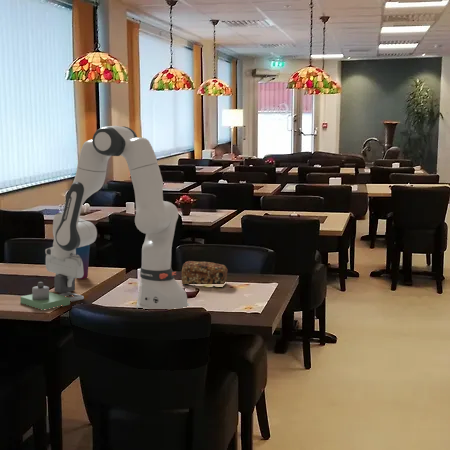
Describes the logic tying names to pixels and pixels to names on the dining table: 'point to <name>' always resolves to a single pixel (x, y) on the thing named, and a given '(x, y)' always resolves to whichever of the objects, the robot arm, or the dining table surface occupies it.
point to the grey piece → (62, 284)
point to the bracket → (75, 298)
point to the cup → (84, 258)
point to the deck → (46, 303)
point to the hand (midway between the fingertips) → (64, 285)
